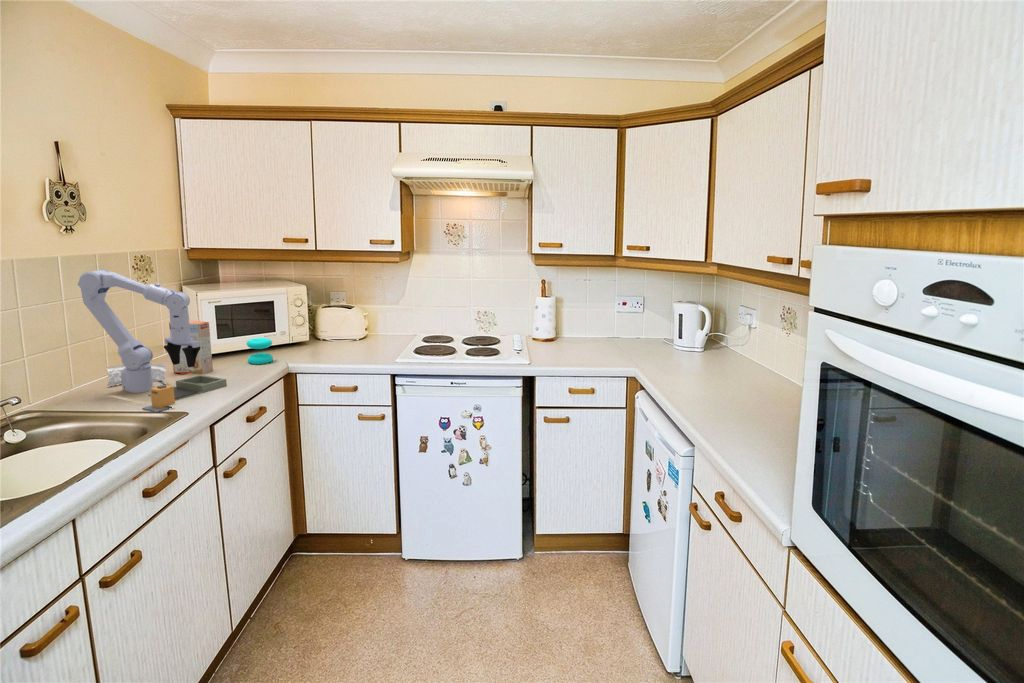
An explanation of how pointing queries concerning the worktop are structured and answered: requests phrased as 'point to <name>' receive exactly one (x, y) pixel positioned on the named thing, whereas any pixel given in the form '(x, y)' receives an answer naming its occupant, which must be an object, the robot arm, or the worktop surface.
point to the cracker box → (204, 356)
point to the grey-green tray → (196, 386)
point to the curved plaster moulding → (115, 371)
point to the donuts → (259, 344)
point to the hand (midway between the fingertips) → (183, 365)
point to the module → (162, 396)
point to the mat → (155, 408)
